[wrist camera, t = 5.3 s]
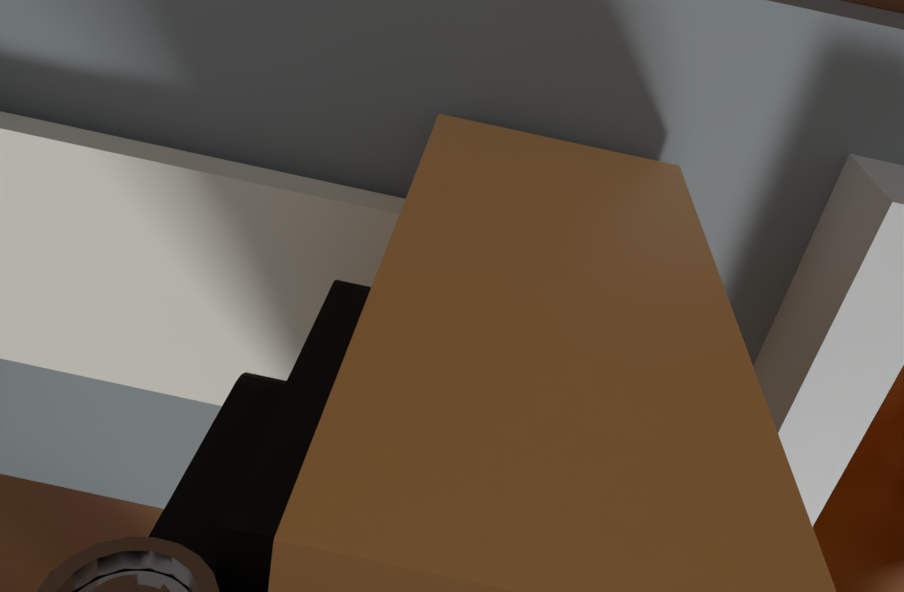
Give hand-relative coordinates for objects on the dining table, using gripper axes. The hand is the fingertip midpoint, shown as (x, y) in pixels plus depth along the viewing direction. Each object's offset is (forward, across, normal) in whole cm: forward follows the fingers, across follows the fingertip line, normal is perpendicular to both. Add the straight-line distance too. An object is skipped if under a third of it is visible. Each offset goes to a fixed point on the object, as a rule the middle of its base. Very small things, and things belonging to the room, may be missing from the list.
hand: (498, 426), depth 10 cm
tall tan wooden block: (+2, +4, 0) cm, 5 cm away
